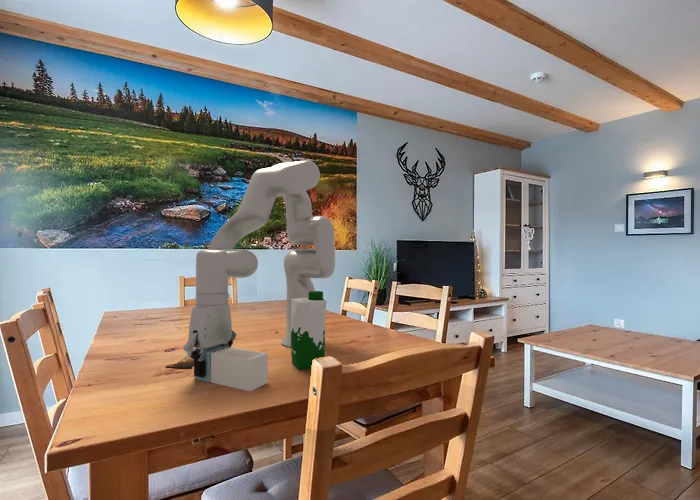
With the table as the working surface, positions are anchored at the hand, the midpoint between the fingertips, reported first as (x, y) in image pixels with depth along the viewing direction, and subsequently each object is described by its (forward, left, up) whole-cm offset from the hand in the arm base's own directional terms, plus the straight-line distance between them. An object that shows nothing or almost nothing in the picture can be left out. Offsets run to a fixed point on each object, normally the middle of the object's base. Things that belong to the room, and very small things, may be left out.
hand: (211, 371), depth 93 cm
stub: (0, 0, -1) cm, 1 cm away
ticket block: (0, +9, -1) cm, 9 cm away
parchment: (-12, -17, -2) cm, 21 cm away
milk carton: (-19, +16, -1) cm, 25 cm away
